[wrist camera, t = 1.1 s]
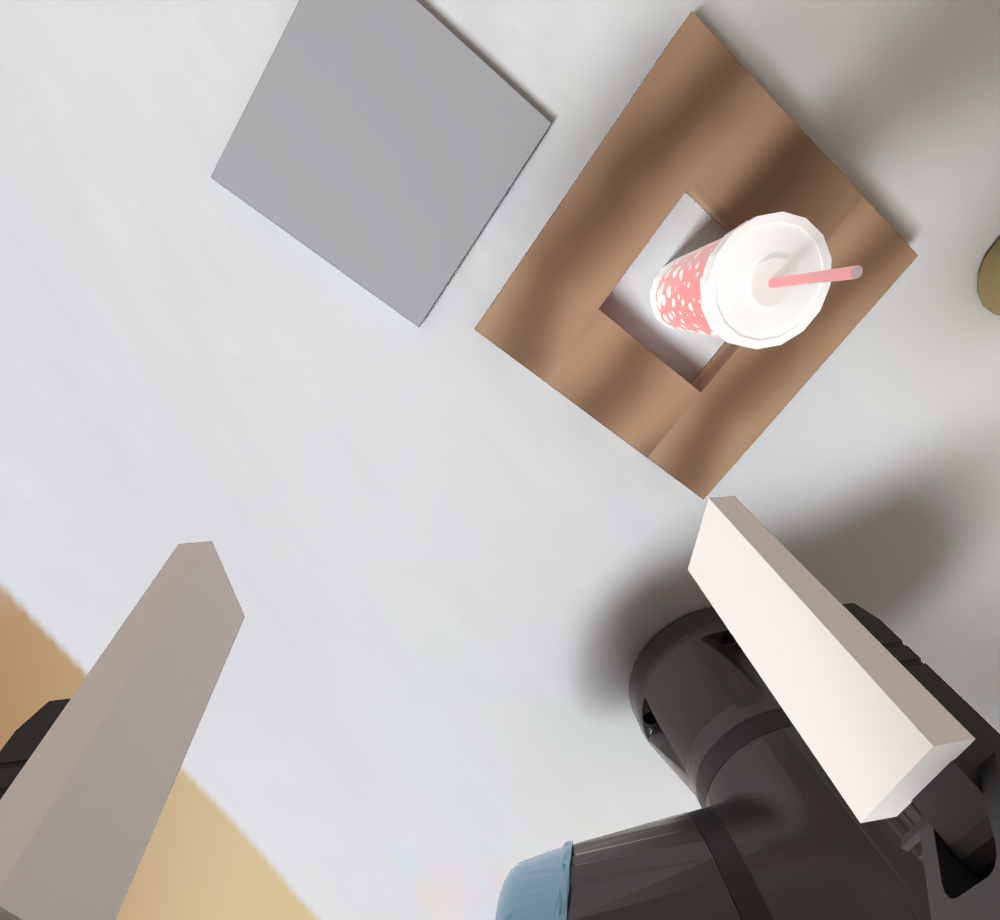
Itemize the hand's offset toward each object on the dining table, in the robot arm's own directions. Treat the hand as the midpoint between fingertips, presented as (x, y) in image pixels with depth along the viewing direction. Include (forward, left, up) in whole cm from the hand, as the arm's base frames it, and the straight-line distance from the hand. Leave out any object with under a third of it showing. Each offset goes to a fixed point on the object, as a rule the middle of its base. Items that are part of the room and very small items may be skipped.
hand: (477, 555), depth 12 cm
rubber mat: (+13, -10, -20) cm, 26 cm away
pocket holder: (-7, -15, -20) cm, 26 cm away
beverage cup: (-7, -15, -20) cm, 26 cm away
